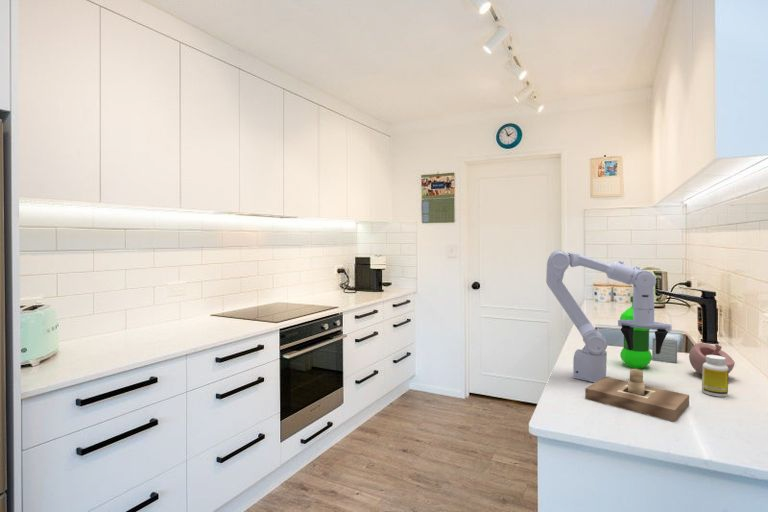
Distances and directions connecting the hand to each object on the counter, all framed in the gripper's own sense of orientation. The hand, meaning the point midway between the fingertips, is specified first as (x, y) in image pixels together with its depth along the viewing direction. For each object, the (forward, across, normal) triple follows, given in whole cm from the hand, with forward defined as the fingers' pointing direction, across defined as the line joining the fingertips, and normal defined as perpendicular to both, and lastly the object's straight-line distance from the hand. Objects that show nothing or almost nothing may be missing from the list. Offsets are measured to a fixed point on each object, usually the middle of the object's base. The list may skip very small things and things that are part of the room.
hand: (644, 351), depth 138 cm
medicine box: (+11, +3, -34) cm, 36 cm away
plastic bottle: (+11, +8, -18) cm, 23 cm away
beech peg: (+10, -3, +18) cm, 21 cm away
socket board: (+10, -3, +18) cm, 21 cm away
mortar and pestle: (+12, -13, -23) cm, 29 cm away
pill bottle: (+11, -17, -5) cm, 21 cm away
